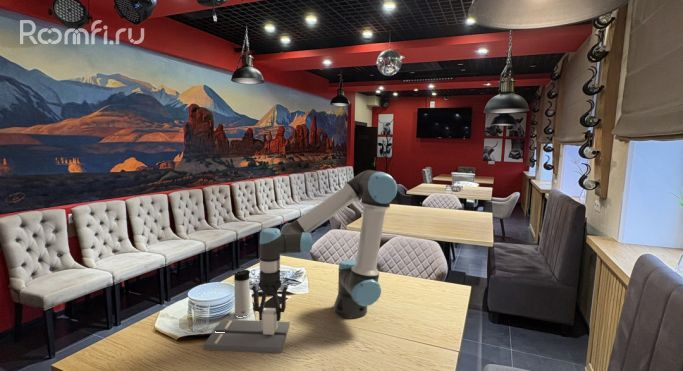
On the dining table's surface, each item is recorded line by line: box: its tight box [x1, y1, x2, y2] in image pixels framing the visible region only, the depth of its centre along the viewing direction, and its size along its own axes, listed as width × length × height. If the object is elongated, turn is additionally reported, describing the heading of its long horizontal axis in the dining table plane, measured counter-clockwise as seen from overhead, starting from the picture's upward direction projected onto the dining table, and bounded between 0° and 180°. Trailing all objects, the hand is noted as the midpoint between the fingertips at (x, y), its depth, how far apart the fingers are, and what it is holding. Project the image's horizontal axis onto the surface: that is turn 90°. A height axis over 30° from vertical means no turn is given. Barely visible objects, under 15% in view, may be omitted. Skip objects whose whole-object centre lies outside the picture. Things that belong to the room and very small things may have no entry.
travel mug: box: [233, 269, 251, 317], centre depth 149 cm, size 6×7×20 cm
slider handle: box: [263, 308, 276, 335], centre depth 133 cm, size 4×5×10 cm
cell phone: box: [259, 293, 292, 310], centre depth 162 cm, size 9×18×1 cm, turn 157°
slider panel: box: [203, 318, 291, 354], centre depth 133 cm, size 28×18×2 cm, turn 88°
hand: (269, 328), depth 133 cm, fingers closed on slider handle, 4 cm apart
